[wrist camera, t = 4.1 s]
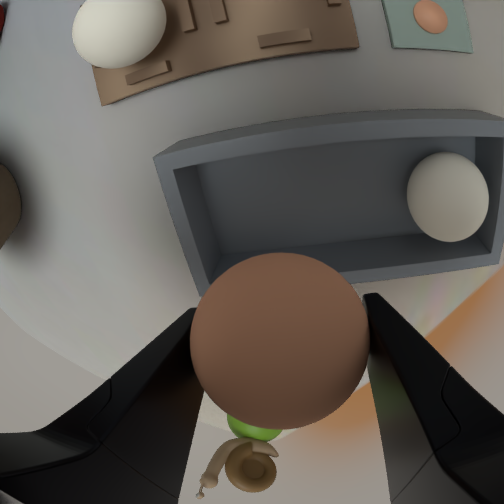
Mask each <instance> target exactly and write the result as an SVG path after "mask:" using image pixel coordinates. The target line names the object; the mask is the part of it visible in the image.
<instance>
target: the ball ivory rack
mask: <svg viewBox="0 0 504 504" xmlns="http://www.w3.org/2000/svg"><path fill="white" fill-rule="evenodd" d="M165 27H166V11H165V7H164V5H163V3H162V1H161V0H86V1H85V2H84V4H83V5H82V6H81V8H80V9H79V11H78V13H77V15H76V17H75V20H74V23H73V29H72V37H73V42H74V45H75V48H76V50H77V52H78V53H79V54H80V56H81V57H82V58H83V59H84V60H86V61H87V62H89V63H90V64H92V65H95V66H97V67H101V68H109V69H115V68H122V67H126V66H129V65H132V64H134V63H136V62H138V61H140V60H142V59H143V58H145V57H146V56H147V55H148V54H150V53H151V52H152V51H153V50H154V48H155V47H156V46H157V45H158V43H159V42H160V40H161V38H162V36H163V33H164V31H165Z"/></svg>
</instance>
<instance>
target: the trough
mask: <svg viewBox="0 0 504 504" xmlns="http://www.w3.org/2000/svg"><path fill="white" fill-rule="evenodd" d="M439 152H452V153H457V154H459V155H462V156H464V157H466V158H467V159H469V160H470V161H471V162H472V163H474V164H475V166H476V167H477V168H478V169H479V170H480V172H481V173H482V175H483V177H484V179H485V182H486V185H487V188H488V194H489V204H488V211H487V214H486V217H485V219H484V221H483V223H482V224H481V226H480V227H479V228H478V230H477V231H476V232H475V233H473V234H472V235H471V236H469V237H468V238H465V239H463V240H460V241H455V242H445V241H440V240H437V239H435V238H432V237H431V236H429V235H427V234H426V233H425V232H424V231H422V230H421V229H420V227H419V226H418V225H417V224H416V222H415V221H414V219H413V217H412V215H411V213H410V210H409V207H408V202H407V186H408V182H409V178H410V176H411V174H412V172H413V170H414V169H415V167H416V166H417V165H418V164H419V163H420V162H421V161H422V160H423V159H424V158H426V157H428V156H429V155H432V154H435V153H439ZM153 160H154V163H155V166H156V170H157V173H158V176H159V179H160V183H161V186H162V189H163V192H164V195H165V198H166V201H167V205H168V208H169V211H170V214H171V217H172V220H173V223H174V226H175V229H176V232H177V234H178V237H179V240H180V243H181V246H182V249H183V252H184V255H185V257H186V260H187V263H188V266H189V269H190V271H191V274H192V277H193V279H194V282H195V285H196V288H197V290H198V293H199V296H203V295H204V294H205V292H206V291H207V290H208V288H209V287H210V286H211V285H212V283H213V282H214V281H215V280H216V279H217V278H218V277H219V276H221V275H222V274H223V273H224V272H226V271H227V270H228V269H229V268H231V267H233V266H234V265H236V264H238V263H240V262H242V261H244V260H247V259H249V258H251V257H255V256H258V255H262V254H268V253H281V252H283V253H295V254H300V255H305V256H308V257H311V258H314V259H316V260H318V261H321V262H323V263H324V264H326V265H328V266H329V267H331V268H333V269H334V270H336V271H337V272H338V273H339V274H341V275H342V276H343V277H344V278H345V280H346V281H347V282H348V283H349V284H354V283H363V282H372V281H380V280H389V279H397V278H405V277H413V276H420V275H428V274H435V273H442V272H449V271H456V270H463V269H470V268H476V267H482V266H489V265H495V264H499V260H500V256H501V251H502V247H503V242H504V118H501V117H498V116H495V115H492V114H489V113H486V112H483V111H476V110H453V109H403V110H379V111H363V112H350V113H338V114H328V115H319V116H311V117H303V118H295V119H288V120H281V121H275V122H269V123H263V124H257V125H251V126H246V127H240V128H235V129H230V130H225V131H220V132H216V133H211V134H206V135H202V136H198V137H193V138H189V139H185V140H181V141H178V142H177V143H175V144H173V145H172V146H170V147H168V148H167V149H165V150H164V151H162V152H160V153H159V154H157V155H156V156H154V157H153Z"/></svg>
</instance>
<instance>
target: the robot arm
mask: <svg viewBox="0 0 504 504" xmlns="http://www.w3.org/2000/svg"><path fill="white" fill-rule="evenodd" d="M362 304H363V306H364V309H365V312H366V315H367V318H368V322H369V329H370V352H369V357H368V362H367V368H368V374H369V379H370V383H371V388H372V393H373V398H374V403H375V407H376V413H377V418H378V423H379V428H380V434H381V440H382V446H383V452H384V458H385V464H386V471H387V477H388V485H389V492H390V501H391V504H504V414H502V413H501V412H500V411H499V410H498V409H497V408H496V407H494V406H493V405H492V404H491V403H489V401H487V400H486V399H485V398H484V397H483V396H482V395H480V394H479V393H478V392H477V391H476V390H475V389H474V388H473V387H472V386H471V385H470V384H469V383H468V382H467V381H466V380H465V379H464V378H463V377H462V376H461V375H460V374H459V373H458V372H457V371H456V370H455V369H454V368H453V367H452V366H451V367H450V364H449V363H448V362H447V361H446V360H445V359H444V358H443V357H442V356H441V355H440V354H439V353H438V351H437V350H435V348H434V347H432V345H431V344H430V343H429V342H428V341H427V340H425V338H424V337H423V336H422V335H421V334H420V333H419V332H418V331H417V330H416V329H415V328H414V327H413V326H412V325H411V324H410V323H409V322H407V321H406V320H405V319H404V318H403V317H402V316H401V315H400V314H399V313H398V312H397V311H396V310H395V309H394V308H393V307H392V306H391V305H390V304H389V303H388V302H387V301H386V300H385V299H384V298H383V297H382V296H380V295H379V294H378V293H368V294H364V295H363V301H362ZM196 309H197V308H190V309H188V310H187V311H186V312H185V313H184V314H183V315H181V316H180V317H179V318H178V319H177V320H176V321H175V322H173V323H172V324H171V325H170V326H169V327H168V328H166V329H165V330H164V331H163V332H162V333H161V334H160V335H158V336H157V337H156V338H155V339H154V340H153V341H152V342H150V343H149V344H148V345H147V346H146V347H145V348H143V349H142V350H141V351H140V352H139V353H138V354H137V355H135V356H134V357H133V358H132V359H131V360H130V361H128V362H127V363H126V364H125V365H124V366H123V367H122V368H120V369H119V370H118V371H117V372H116V373H115V374H113V375H112V376H111V379H110V378H109V379H108V380H106V381H105V382H104V383H103V384H102V385H101V386H99V387H98V388H97V389H96V390H95V391H94V392H92V393H91V394H90V395H89V396H87V397H86V398H85V399H83V400H82V401H81V402H79V403H78V404H77V405H75V406H74V407H73V408H71V409H70V410H68V411H67V412H66V413H64V414H63V415H61V416H60V417H59V418H57V419H56V420H54V421H53V422H52V423H50V424H49V425H47V426H46V427H44V428H42V429H39V430H36V431H32V432H22V433H0V504H178V498H179V494H180V491H181V486H182V482H183V477H184V473H185V469H186V465H187V460H188V456H189V452H190V448H191V444H192V439H193V435H194V431H195V427H196V422H197V418H198V414H199V410H200V406H201V402H202V398H203V394H204V389H203V387H202V386H201V384H200V382H199V380H198V377H197V375H196V373H195V370H194V367H193V363H192V359H191V352H190V333H191V326H192V321H193V318H194V314H195V312H196Z"/></svg>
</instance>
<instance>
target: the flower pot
mask: <svg viewBox="0 0 504 504" xmlns="http://www.w3.org/2000/svg"><path fill="white" fill-rule="evenodd" d="M20 216H21V199H20V195H19V191H18V188H17V185H16V183H15V180H14V178H13V177H12V175H11V173H10V172H9V171H8V170H7V168H6V167H5V166H3V165H2V164H0V249H1V248H2V246H3V245H4V243H5V242H6V240H7V239H8V238H9V236H10V235H11V233H12V232H13V230H14V229H15V227H16V226H17V224H18V222H19V220H20Z"/></svg>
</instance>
